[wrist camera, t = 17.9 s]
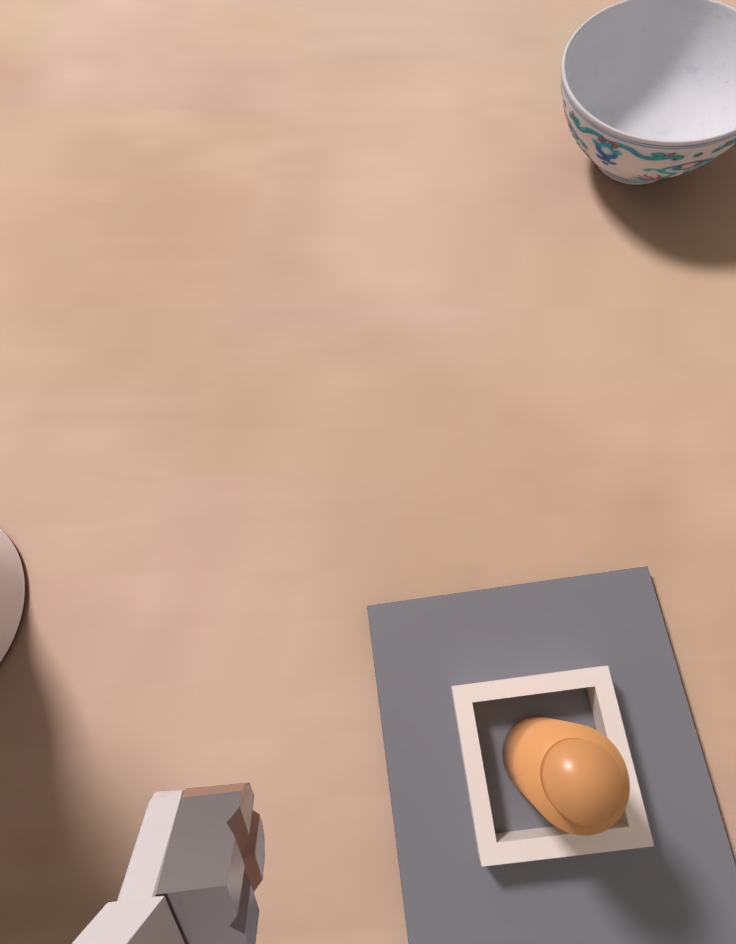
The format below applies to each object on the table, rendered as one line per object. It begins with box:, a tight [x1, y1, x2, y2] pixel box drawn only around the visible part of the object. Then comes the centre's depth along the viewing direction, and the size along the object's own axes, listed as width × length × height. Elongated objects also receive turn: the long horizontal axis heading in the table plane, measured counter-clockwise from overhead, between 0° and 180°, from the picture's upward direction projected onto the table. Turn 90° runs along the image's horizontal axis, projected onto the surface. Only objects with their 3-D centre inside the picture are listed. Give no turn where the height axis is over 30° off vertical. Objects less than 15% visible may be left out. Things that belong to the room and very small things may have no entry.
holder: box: [367, 566, 736, 944], centre depth 34 cm, size 18×20×3 cm
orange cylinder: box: [502, 716, 630, 836], centre depth 29 cm, size 4×4×10 cm
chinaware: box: [561, 0, 736, 185], centre depth 46 cm, size 15×15×8 cm
